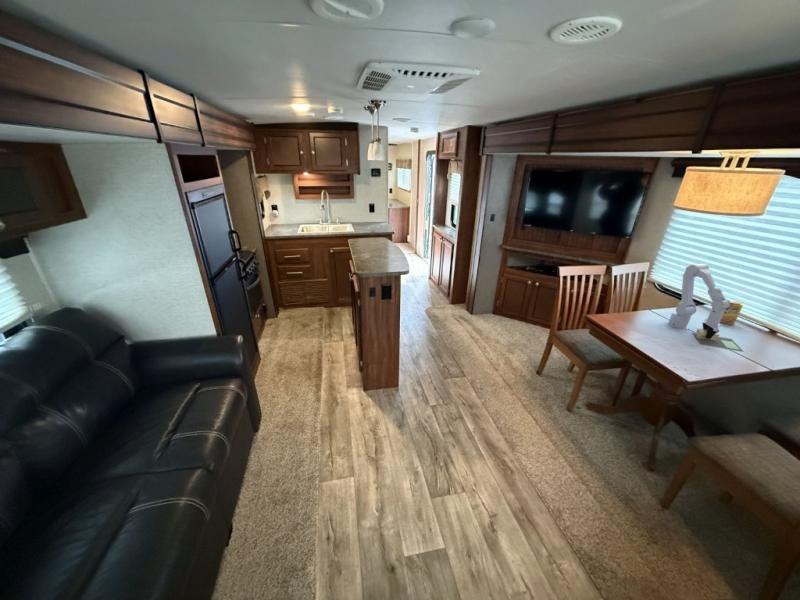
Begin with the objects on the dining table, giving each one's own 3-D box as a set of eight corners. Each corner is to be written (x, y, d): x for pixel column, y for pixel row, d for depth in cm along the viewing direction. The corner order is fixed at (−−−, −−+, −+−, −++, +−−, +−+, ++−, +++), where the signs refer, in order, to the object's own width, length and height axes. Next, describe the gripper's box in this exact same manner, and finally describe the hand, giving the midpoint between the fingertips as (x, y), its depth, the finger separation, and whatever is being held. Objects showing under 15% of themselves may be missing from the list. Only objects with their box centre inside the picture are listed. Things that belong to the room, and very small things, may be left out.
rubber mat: (699, 344, 189) (700, 344, 189) (691, 332, 202) (691, 332, 202) (743, 352, 181) (743, 351, 181) (731, 339, 194) (731, 338, 194)
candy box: (716, 321, 216) (725, 301, 210) (715, 319, 219) (724, 299, 213) (733, 325, 210) (743, 305, 204) (733, 322, 213) (742, 303, 207)
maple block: (698, 337, 196) (700, 331, 194) (695, 334, 200) (697, 328, 198) (716, 341, 192) (719, 334, 190) (713, 337, 196) (716, 331, 194)
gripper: (728, 323, 182) (719, 342, 188) (718, 313, 194) (710, 332, 200) (713, 321, 185) (704, 340, 191) (704, 311, 197) (696, 329, 202)
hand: (706, 336), depth 195 cm, fingers closed on maple block, 5 cm apart
